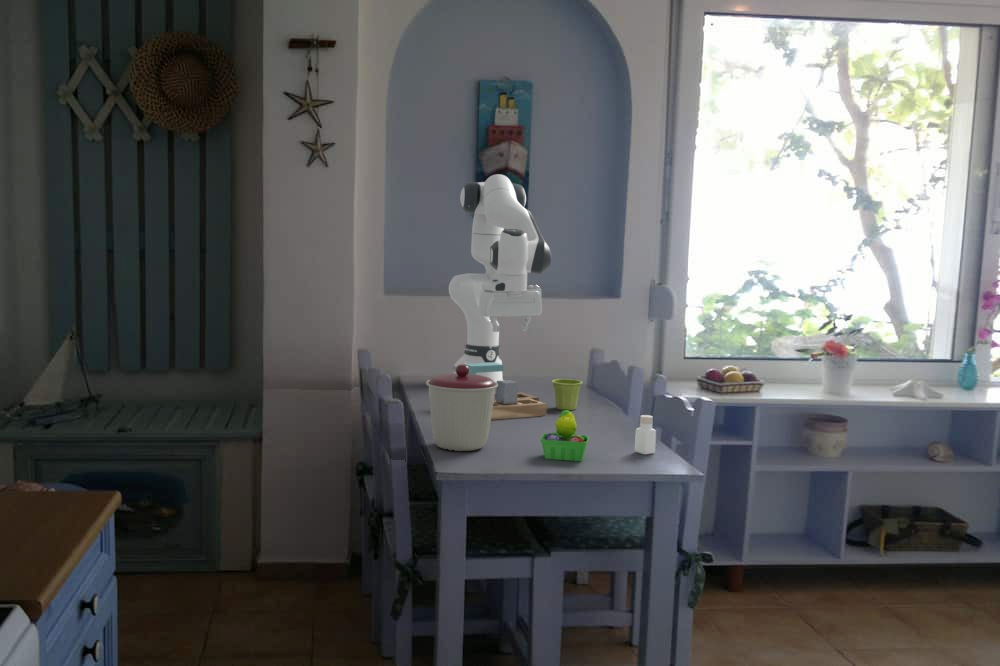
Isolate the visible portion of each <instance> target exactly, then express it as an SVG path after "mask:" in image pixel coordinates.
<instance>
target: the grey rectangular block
mask: <svg viewBox="0 0 1000 666" xmlns="http://www.w3.org/2000/svg"><path fill="white" fill-rule="evenodd" d="M503 380H504V381H497V383H498V387H497V388H495V394H496V403H498V404H501V405H517V395H518V393H519V383H518V382H517V381H514V380H511V379H508V380H507V379H506V380H505V379H503Z"/></svg>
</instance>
